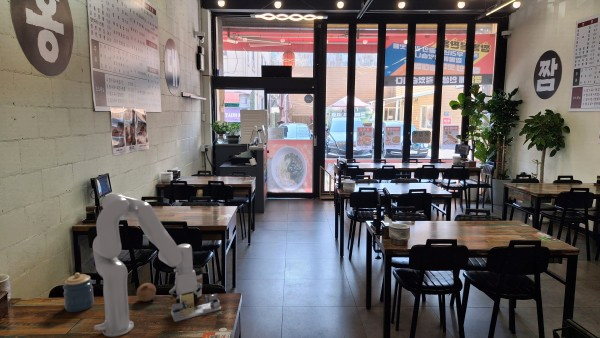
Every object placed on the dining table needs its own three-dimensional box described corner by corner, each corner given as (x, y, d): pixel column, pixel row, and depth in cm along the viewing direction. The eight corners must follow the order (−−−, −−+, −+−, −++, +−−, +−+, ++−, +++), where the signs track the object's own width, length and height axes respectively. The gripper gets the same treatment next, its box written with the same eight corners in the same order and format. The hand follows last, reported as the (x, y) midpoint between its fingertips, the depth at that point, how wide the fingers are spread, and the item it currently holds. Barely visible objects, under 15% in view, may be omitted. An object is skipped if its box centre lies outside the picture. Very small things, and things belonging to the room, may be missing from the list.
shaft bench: (174, 321, 180) (174, 307, 179) (170, 314, 187) (170, 300, 186) (220, 309, 191) (220, 295, 190) (215, 303, 198) (214, 289, 197)
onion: (147, 308, 200) (143, 295, 194) (134, 300, 203) (130, 288, 198) (161, 295, 207) (158, 283, 201) (148, 288, 210) (145, 275, 205)
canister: (99, 300, 203) (96, 267, 201) (85, 312, 191) (82, 277, 188) (74, 300, 204) (71, 268, 202) (59, 312, 191) (55, 278, 189)
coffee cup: (206, 292, 211) (204, 265, 209) (200, 299, 202) (199, 271, 200) (191, 292, 211) (189, 265, 210) (185, 299, 203) (183, 271, 201)
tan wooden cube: (182, 309, 192) (182, 295, 191) (180, 305, 197) (179, 291, 196) (194, 306, 195) (193, 293, 194) (191, 302, 199) (190, 289, 199)
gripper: (168, 275, 186) (170, 311, 188) (204, 268, 195) (206, 301, 197) (165, 270, 192) (167, 304, 194) (200, 263, 201) (201, 296, 203)
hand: (186, 303), depth 195 cm, fingers open, 7 cm apart
